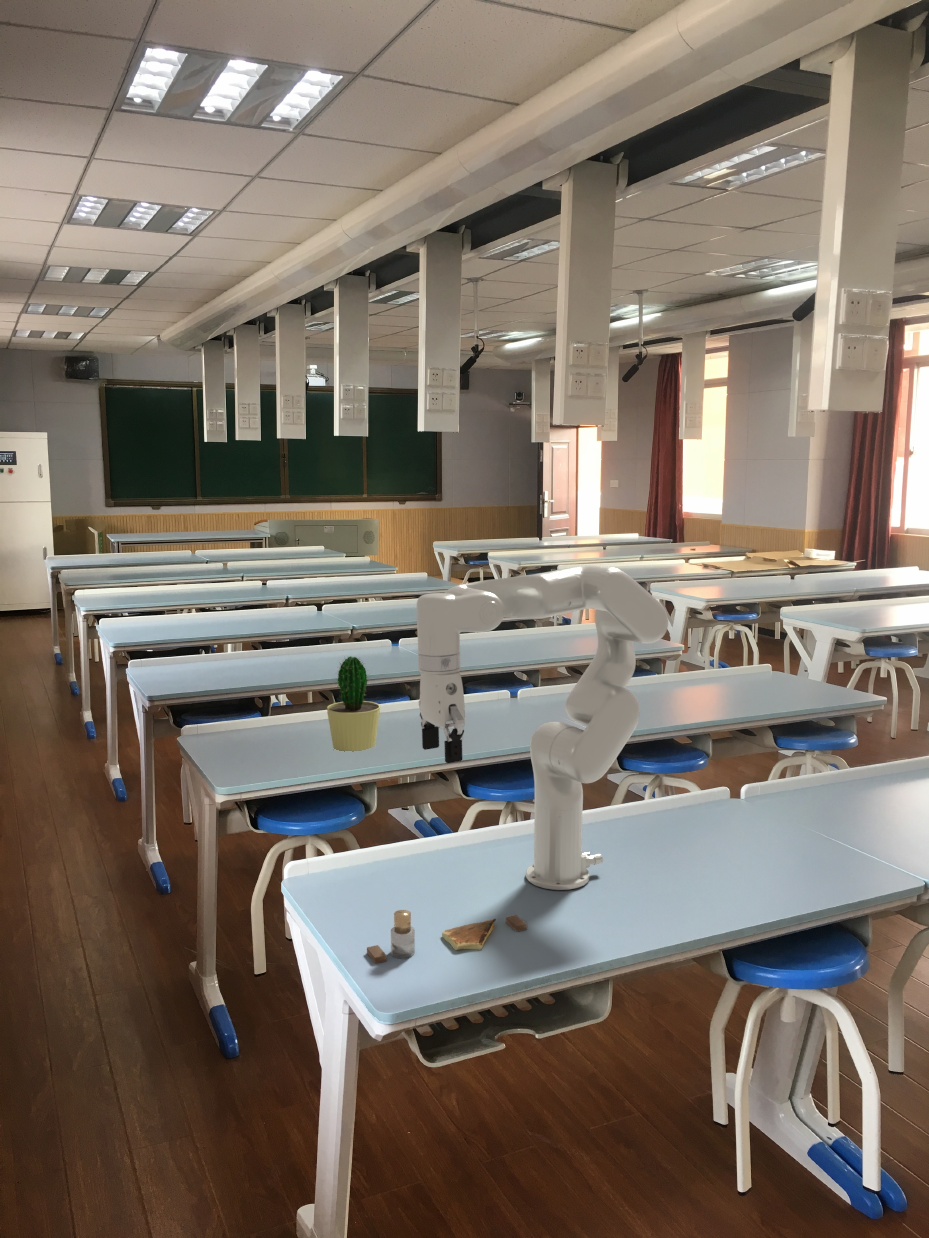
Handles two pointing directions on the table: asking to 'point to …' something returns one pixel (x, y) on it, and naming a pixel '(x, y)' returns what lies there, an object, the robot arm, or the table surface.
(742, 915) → the table surface
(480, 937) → the shard
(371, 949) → the small brown blocks
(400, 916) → the gold capped bottle
